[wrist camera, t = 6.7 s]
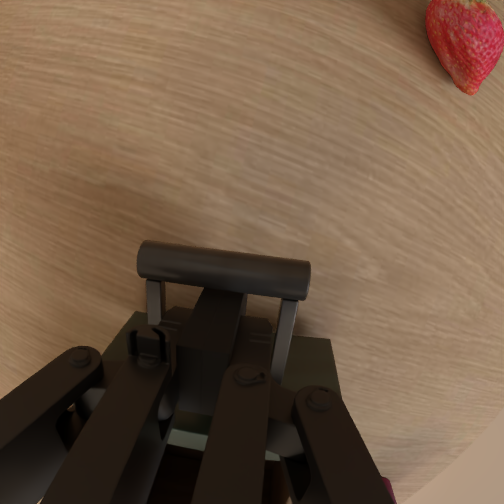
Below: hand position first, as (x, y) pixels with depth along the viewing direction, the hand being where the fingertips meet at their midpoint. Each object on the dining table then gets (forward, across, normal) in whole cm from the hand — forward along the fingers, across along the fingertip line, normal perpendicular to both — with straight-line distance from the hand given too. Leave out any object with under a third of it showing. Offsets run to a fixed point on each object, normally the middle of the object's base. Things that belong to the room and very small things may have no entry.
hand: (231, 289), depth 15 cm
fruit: (+3, +10, +14) cm, 18 cm away
